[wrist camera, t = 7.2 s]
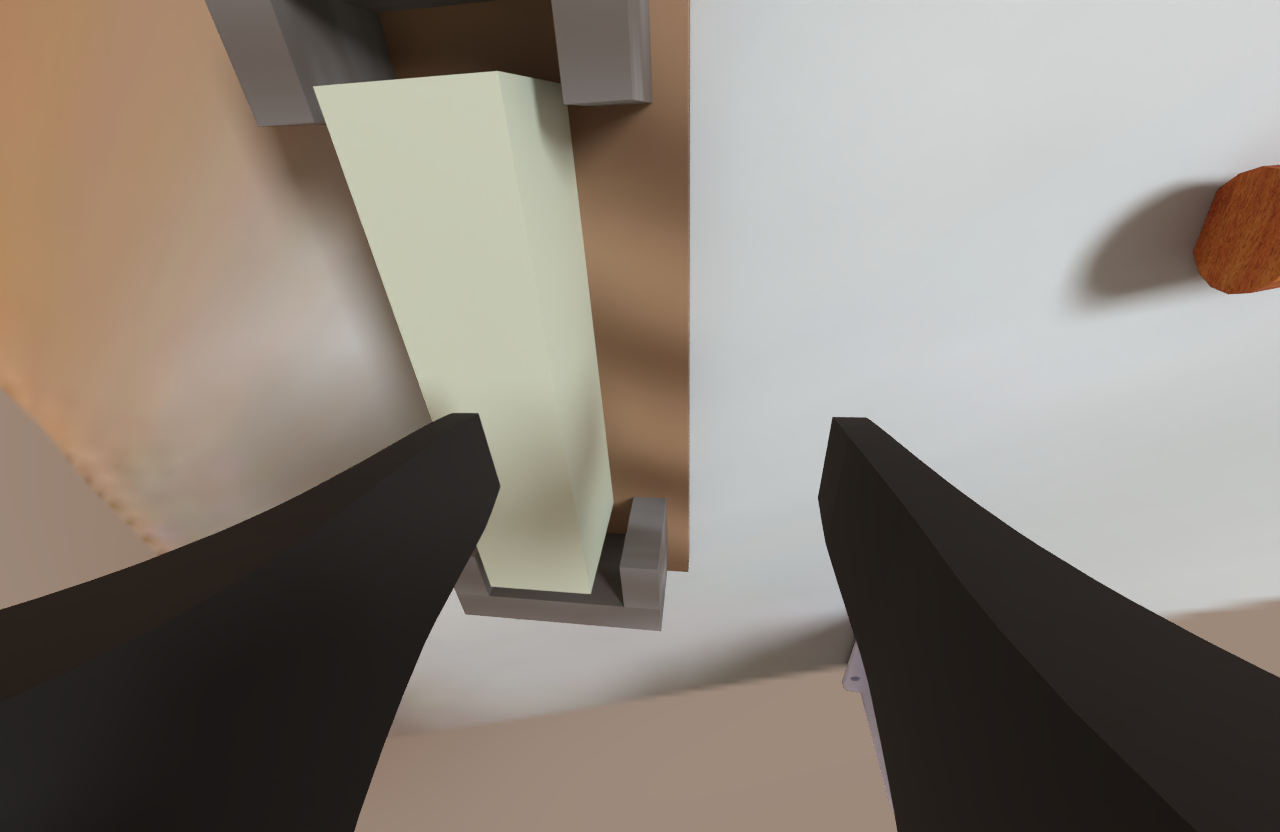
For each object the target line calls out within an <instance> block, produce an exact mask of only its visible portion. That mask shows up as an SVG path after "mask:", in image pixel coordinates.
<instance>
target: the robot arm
mask: <svg viewBox="0 0 1280 832" xmlns="http://www.w3.org/2000/svg"><path fill="white" fill-rule="evenodd" d="M500 487H501V486H500V483H499V479H498V476H497V473H496V469H495V466H494V463H493V459H492V456H491V453H490V450H489V446H488V443H487V440H486V436H485V433H484V430H483V426H482V423H481V420H480V416H479V413H451V414H448V415H446V416H444V417H442V418H440V419H437V420H435V421H434V422H432V423H430V424H428V425H426V426H424V427H422V428H420V429H419V430H417V431H415V432H413V433H411V434H410V435H408V436H406V437H404V438H403V439H401V440H399V441H397V442H396V443H394V444H392V445H390V446H389V447H387V448H385V449H383V450H382V451H380V452H378V453H376V454H375V455H373V456H371V457H369V458H367V459H366V460H364V461H362V462H360V463H359V464H357V465H355V466H353V467H351V468H349V469H348V470H346V471H344V472H342V473H340V474H338V475H336V476H334V477H333V478H331V479H329V480H327V481H325V482H323V483H321V484H319V485H318V486H316V487H314V488H312V489H310V490H308V491H306V492H304V493H302V494H301V495H299V496H296V497H294V498H292V499H290V500H288V501H286V502H284V503H282V504H280V505H278V506H276V507H274V508H272V509H270V510H268V511H265V512H263V513H261V514H259V515H256V516H254V517H252V518H250V519H248V520H245V521H243V522H241V523H239V524H237V525H234V526H232V527H230V528H227V529H225V530H223V531H220V532H218V533H216V534H213V535H210V536H208V537H205V538H203V539H200V540H198V541H195V542H193V543H190V544H188V545H185V546H183V547H180V548H178V549H175V550H173V551H170V552H167V553H165V554H162V555H160V556H157V557H155V558H152V559H150V560H147V561H145V562H142V563H139V564H136V565H134V566H131V567H128V568H125V569H123V570H120V571H117V572H114V573H111V574H108V575H105V576H103V577H100V578H97V579H94V580H91V581H89V582H85V583H82V584H79V585H76V586H73V587H70V588H67V589H64V590H61V591H58V592H55V593H52V594H49V595H46V596H43V597H40V598H37V599H34V600H31V601H27V602H24V603H21V604H18V605H15V606H11V607H8V608H5V609H1V610H0V832H354V830H355V827H356V824H357V820H358V817H359V814H360V811H361V808H362V806H363V803H364V800H365V797H366V794H367V791H368V788H369V786H370V783H371V780H372V777H373V774H374V771H375V768H376V765H377V763H378V760H379V757H380V754H381V751H382V748H383V746H384V743H385V741H386V738H387V735H388V733H389V730H390V728H391V725H392V722H393V720H394V717H395V715H396V712H397V710H398V707H399V704H400V702H401V699H402V697H403V694H404V691H405V689H406V687H407V684H408V682H409V680H410V677H411V675H412V672H413V670H414V668H415V665H416V663H417V660H418V658H419V656H420V653H421V651H422V649H423V646H424V644H425V642H426V640H427V638H428V636H429V633H430V631H431V629H432V627H433V625H434V623H435V621H436V619H437V617H438V616H439V614H440V612H441V610H442V608H443V606H444V605H445V603H446V601H447V599H448V597H449V595H450V593H451V592H452V590H453V588H454V586H455V584H456V582H457V581H458V579H459V577H460V575H461V573H462V571H463V570H464V568H465V566H466V564H467V562H468V560H469V558H470V557H471V555H472V553H473V551H474V549H475V547H476V545H477V543H478V541H479V540H480V538H481V536H482V534H483V532H484V530H485V528H486V526H487V523H488V520H489V518H490V515H491V513H492V510H493V507H494V504H495V502H496V499H497V496H498V493H499V490H500ZM818 501H819V507H820V513H821V520H822V525H823V531H824V536H825V542H826V546H827V549H828V553H829V556H830V559H831V563H832V566H833V569H834V572H835V576H836V579H837V582H838V585H839V588H840V591H841V595H842V598H843V601H844V604H845V607H846V610H847V614H848V617H849V620H850V623H851V626H852V630H853V633H854V636H855V639H856V641H855V644H854V647H853V650H852V653H851V656H850V659H849V662H848V665H847V668H846V671H845V674H844V677H843V680H842V684H843V687H844V689H845V690H847V691H853V692H861V696H862V700H863V704H864V708H865V712H866V716H867V719H868V723H869V727H870V731H871V735H872V739H873V743H874V747H875V750H876V754H877V758H878V762H879V766H880V770H881V774H882V777H883V781H884V785H885V789H886V793H887V797H888V800H889V803H890V806H891V808H892V810H893V813H894V815H895V820H896V825H897V831H898V832H1280V678H1279V677H1277V676H1275V675H1273V674H1271V673H1269V672H1267V671H1265V670H1263V669H1261V668H1259V667H1257V666H1255V665H1253V664H1251V663H1249V662H1247V661H1245V660H1243V659H1241V658H1239V657H1237V656H1235V655H1233V654H1231V653H1229V652H1227V651H1225V650H1223V649H1221V648H1219V647H1217V646H1215V645H1213V644H1211V643H1210V642H1208V641H1206V640H1204V639H1202V638H1200V637H1198V636H1196V635H1194V634H1193V633H1190V632H1189V631H1187V630H1185V629H1183V628H1181V627H1180V626H1178V625H1176V624H1174V623H1172V622H1170V621H1168V620H1166V619H1165V618H1163V617H1161V616H1159V615H1157V614H1155V613H1153V612H1152V611H1150V610H1148V609H1146V608H1144V607H1142V606H1140V605H1139V604H1137V603H1135V602H1133V601H1131V600H1129V599H1128V598H1126V597H1124V596H1122V595H1121V594H1119V593H1117V592H1115V591H1114V590H1112V589H1110V588H1108V587H1107V586H1105V585H1103V584H1101V583H1100V582H1098V581H1096V580H1094V579H1093V578H1091V577H1089V576H1088V575H1086V574H1085V573H1083V572H1081V571H1080V570H1078V569H1076V568H1075V567H1073V566H1071V565H1070V564H1068V563H1067V562H1065V561H1063V560H1062V559H1060V558H1058V557H1057V556H1055V555H1053V554H1052V553H1050V552H1048V551H1047V550H1045V549H1044V548H1042V547H1040V546H1039V545H1037V544H1036V543H1034V542H1033V541H1031V540H1030V539H1028V538H1026V537H1025V536H1023V535H1022V534H1020V533H1019V532H1017V531H1016V530H1014V529H1013V528H1011V527H1010V526H1009V525H1007V524H1006V523H1004V522H1003V521H1001V520H1000V519H999V518H997V517H996V516H994V515H993V514H991V513H990V512H989V511H987V510H986V509H984V508H983V507H981V506H980V505H978V504H977V503H976V502H974V501H973V500H972V499H970V498H969V497H968V496H966V495H965V494H963V493H962V492H961V491H959V490H958V489H957V488H955V487H954V486H953V485H951V484H950V483H949V482H947V481H946V480H945V479H944V478H942V477H941V476H940V475H938V474H937V473H936V472H935V471H933V470H932V469H931V468H929V467H928V466H927V465H926V464H924V463H923V462H922V461H921V460H919V459H918V458H917V457H916V456H914V455H913V454H912V453H911V452H910V451H908V450H907V449H906V448H905V447H903V446H902V445H901V444H900V443H898V442H897V441H896V440H895V439H894V438H892V437H891V436H890V435H889V434H887V433H886V432H885V431H884V430H882V429H881V428H880V427H879V426H877V425H876V424H875V423H873V422H872V421H871V420H869V419H868V418H854V417H833V418H832V424H831V429H830V435H829V440H828V446H827V451H826V457H825V462H824V468H823V473H822V479H821V484H820V490H819V495H818Z"/></svg>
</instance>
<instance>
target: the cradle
mask: <svg viewBox="0 0 1280 832" xmlns="http://www.w3.org/2000/svg"><path fill="white" fill-rule="evenodd" d="M205 2H206V4H207V7H208V9H209V11H210V14H211V16H212V19H213V21H214V23H215V26H216V28H217V30H218V33H219V35H220V37H221V40H222V42H223V44H224V47H225V49H226V51H227V54H228V56H229V59H230V61H231V63H232V66H233V68H234V70H235V73H236V75H237V77H238V80H239V82H240V84H241V87H242V89H243V92H244V94H245V96H246V99H247V101H248V103H249V106H250V108H251V110H252V113H253V115H254V117H255V120H256V122H257V124H258V127H264V126H298V125H326V122H325V119H324V116H323V113H322V111H321V108H320V105H319V102H318V99H317V97H316V94H315V91H314V88H313V86H324V85H335V84H347V83H359V82H371V81H383V80H395V79H407V78H419V77H431V76H443V75H455V74H467V73H479V72H491V71H500V72H505V73H510V74H515V75H520V76H526V77H531V78H536V79H541V80H546V81H551V82H556V83H561V86H562V94H563V102H564V104H565V105H567V106H568V114H569V123H570V131H571V140H572V149H573V157H574V166H575V174H576V183H577V191H578V200H579V209H580V217H581V226H582V234H583V243H584V252H585V260H586V269H587V277H588V286H589V295H590V303H591V312H592V320H593V329H594V337H595V346H596V355H597V363H598V372H599V380H600V389H601V398H602V406H603V415H604V423H605V432H606V441H607V449H608V458H609V466H610V475H611V484H612V492H613V501H614V503H613V507H612V511H611V515H610V519H609V523H608V527H607V531H606V535H605V539H604V543H603V547H602V551H601V555H600V559H599V563H598V567H597V571H596V575H595V579H594V583H593V587H592V591H591V594H582V593H569V592H556V591H543V590H530V589H517V588H504V587H491V585H490V582H489V580H488V577H487V574H486V571H485V568H484V565H483V563H482V560H481V557H480V554H479V551H478V549H477V546H476V547H475V549H474V551H473V553H472V555H471V557H470V558H469V560H468V562H467V564H466V566H465V568H464V570H463V571H462V573H461V575H460V577H459V579H458V581H457V582H456V584H455V586H454V588H455V591H456V593H457V595H458V598H459V600H460V603H461V605H462V607H463V610H464V612H465V614H468V615H480V616H491V617H503V618H515V619H526V620H538V621H549V622H561V623H573V624H584V625H596V626H608V627H619V628H631V629H642V630H654V631H661V627H662V617H663V607H664V596H665V586H666V576H667V571H682V572H688V566H689V273H690V0H205Z"/></svg>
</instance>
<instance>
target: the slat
mask: <svg viewBox="0 0 1280 832" xmlns="http://www.w3.org/2000/svg"><path fill="white" fill-rule="evenodd" d="M313 88H314V91H315V94H316V97H317V99H318V102H319V105H320V108H321V111H322V113H323V116H324V119H325V122H326V125H327V128H328V130H329V133H330V136H331V139H332V142H333V144H334V147H335V150H336V153H337V156H338V158H339V161H340V164H341V167H342V170H343V172H344V175H345V178H346V181H347V184H348V186H349V189H350V192H351V195H352V198H353V201H354V203H355V206H356V209H357V212H358V215H359V217H360V220H361V223H362V226H363V229H364V231H365V234H366V237H367V240H368V243H369V245H370V248H371V251H372V254H373V257H374V259H375V262H376V265H377V268H378V271H379V274H380V276H381V279H382V282H383V285H384V288H385V290H386V293H387V296H388V299H389V302H390V304H391V307H392V310H393V313H394V316H395V318H396V321H397V324H398V327H399V330H400V332H401V335H402V338H403V341H404V344H405V347H406V349H407V352H408V355H409V358H410V361H411V363H412V366H413V369H414V372H415V375H416V377H417V380H418V383H419V386H420V389H421V391H422V394H423V397H424V400H425V403H426V405H427V408H428V411H429V414H430V417H431V420H432V422H434V421H435V420H437V419H440V418H442V417H444V416H446V415H448V414H451V413H479V416H480V420H481V423H482V426H483V430H484V433H485V436H486V440H487V443H488V446H489V450H490V453H491V456H492V459H493V463H494V466H495V469H496V473H497V476H498V479H499V483H500V486H501V487H500V490H499V493H498V496H497V499H496V502H495V504H494V507H493V510H492V513H491V515H490V518H489V520H488V523H487V526H486V528H485V530H484V532H483V534H482V536H481V538H480V540H479V541H478V543H477V545H476V546H477V549H478V551H479V554H480V557H481V560H482V563H483V565H484V568H485V571H486V574H487V577H488V580H489V582H490V585H491V587H504V588H517V589H530V590H543V591H556V592H569V593H582V594H591V591H592V587H593V583H594V579H595V575H596V571H597V567H598V563H599V559H600V555H601V551H602V547H603V543H604V539H605V535H606V531H607V527H608V523H609V519H610V515H611V511H612V507H613V503H614V501H613V492H612V484H611V475H610V466H609V458H608V449H607V441H606V432H605V423H604V415H603V406H602V398H601V389H600V380H599V372H598V363H597V355H596V346H595V337H594V329H593V320H592V312H591V303H590V295H589V286H588V277H587V269H586V260H585V252H584V243H583V234H582V226H581V217H580V209H579V200H578V191H577V183H576V174H575V166H574V157H573V149H572V140H571V131H570V123H569V114H568V106H567V105H565V104H564V102H563V94H562V86H561V83H556V82H551V81H546V80H541V79H536V78H531V77H526V76H520V75H515V74H510V73H505V72H500V71H491V72H479V73H467V74H455V75H443V76H431V77H419V78H407V79H395V80H383V81H371V82H359V83H347V84H335V85H324V86H313Z"/></svg>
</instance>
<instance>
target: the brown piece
mask: <svg viewBox="0 0 1280 832" xmlns="http://www.w3.org/2000/svg"><path fill="white" fill-rule="evenodd" d="M1193 254H1194V258H1195V261H1196V265H1197V269H1198V272H1199V274H1200V275H1201V276H1202V277H1203V278H1204V280H1205V281H1206V282H1207V283H1208V284H1209V285H1210V287H1212V288H1215V289H1217V290H1220V291H1222V292H1224V293H1227V294H1241V293H1253V292H1258V291H1263V290H1268V289H1274V288H1279V287H1280V165H1273V166H1262V167H1259V168H1256V169H1253V170H1249V171H1246V172H1243V173H1240V174H1238V175H1237V176H1235V177H1234V178H1233V179H1231V180H1230V181H1229V182H1227V183H1226V184H1225V185H1223V186H1222V187H1221V188H1219V189H1218V191H1217V192H1216V194H1215V197H1214V199H1213V202H1212V205H1211V207H1210V210H1209V212H1208V215H1207V217H1206V220H1205V223H1204V225H1203V228H1202V230H1201V233H1200V235H1199V238H1198V240H1197V243H1196V246H1195V248H1194V251H1193Z"/></svg>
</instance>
